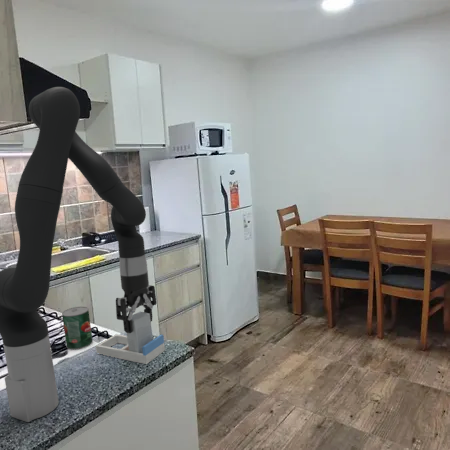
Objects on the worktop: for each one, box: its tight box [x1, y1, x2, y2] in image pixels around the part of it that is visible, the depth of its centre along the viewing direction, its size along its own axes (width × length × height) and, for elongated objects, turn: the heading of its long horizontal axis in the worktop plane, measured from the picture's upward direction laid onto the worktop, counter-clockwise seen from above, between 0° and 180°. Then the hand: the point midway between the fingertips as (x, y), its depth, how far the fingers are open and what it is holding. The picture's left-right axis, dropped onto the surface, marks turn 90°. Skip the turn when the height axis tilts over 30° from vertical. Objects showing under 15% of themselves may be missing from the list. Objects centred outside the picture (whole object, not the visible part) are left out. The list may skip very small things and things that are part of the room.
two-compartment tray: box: [95, 333, 166, 365], centre depth 117 cm, size 9×19×5 cm, turn 62°
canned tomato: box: [61, 305, 94, 351], centre depth 125 cm, size 8×8×11 cm
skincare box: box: [126, 311, 154, 353], centre depth 114 cm, size 6×4×12 cm
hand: (139, 326), depth 113 cm, fingers open, 8 cm apart
